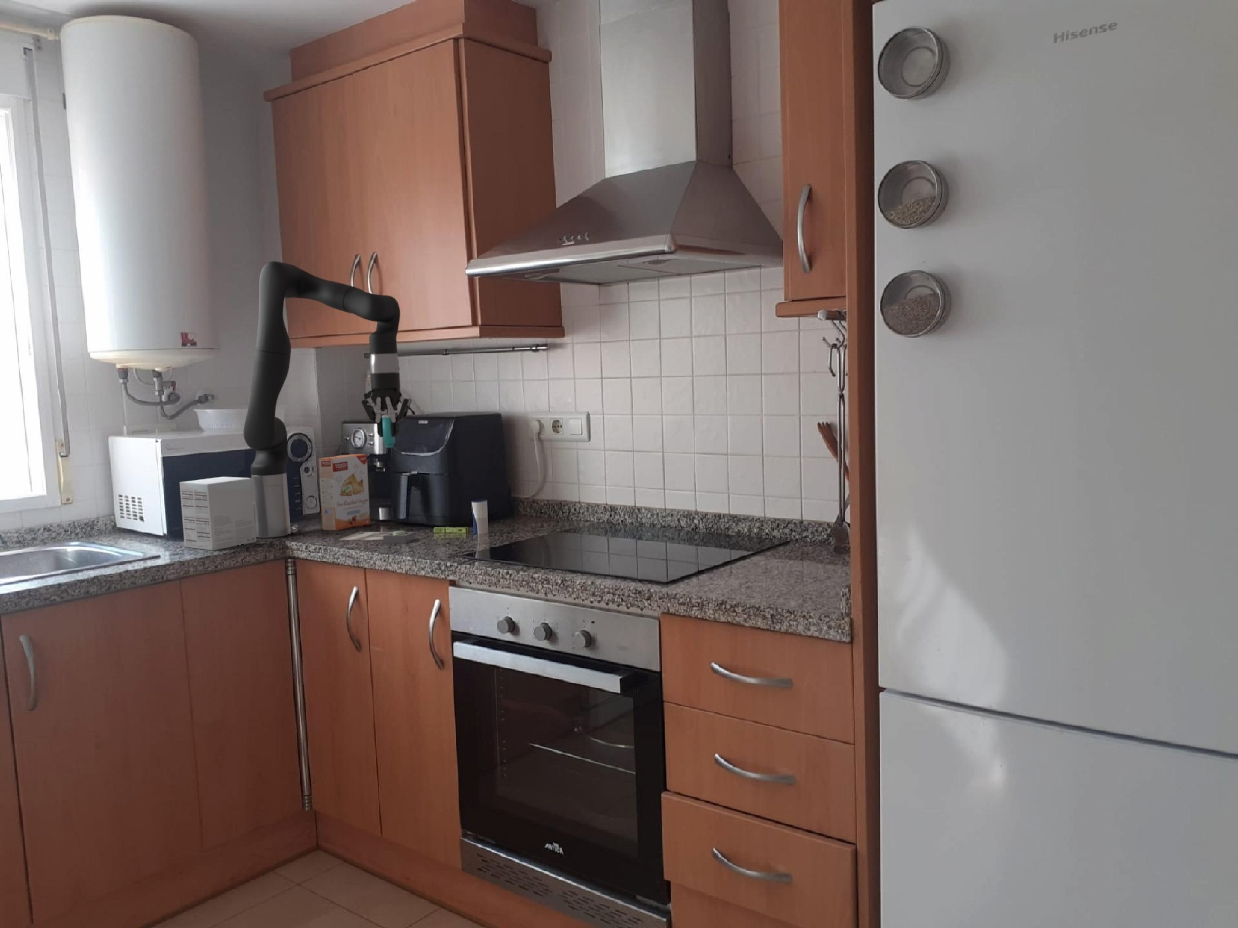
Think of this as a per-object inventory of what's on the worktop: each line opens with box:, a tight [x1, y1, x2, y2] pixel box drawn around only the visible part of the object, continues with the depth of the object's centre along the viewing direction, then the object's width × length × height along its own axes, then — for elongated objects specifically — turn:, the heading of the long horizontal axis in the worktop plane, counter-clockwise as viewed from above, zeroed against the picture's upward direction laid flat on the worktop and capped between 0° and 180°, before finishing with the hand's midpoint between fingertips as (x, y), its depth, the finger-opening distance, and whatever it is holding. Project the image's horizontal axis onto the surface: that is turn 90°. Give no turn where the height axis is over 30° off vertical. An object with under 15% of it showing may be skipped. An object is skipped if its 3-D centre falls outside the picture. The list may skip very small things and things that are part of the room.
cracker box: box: [318, 453, 371, 531], centre depth 281 cm, size 14×6×21 cm, turn 152°
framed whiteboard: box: [337, 531, 393, 541], centre depth 263 cm, size 16×13×1 cm
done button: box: [392, 530, 406, 535], centre depth 253 cm, size 3×3×3 cm
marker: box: [382, 414, 396, 449], centre depth 260 cm, size 3×3×9 cm
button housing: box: [382, 531, 416, 544], centre depth 253 cm, size 6×6×2 cm
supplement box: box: [179, 476, 257, 551], centre depth 261 cm, size 13×13×18 cm
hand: (388, 436), depth 260 cm, fingers closed on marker, 3 cm apart
